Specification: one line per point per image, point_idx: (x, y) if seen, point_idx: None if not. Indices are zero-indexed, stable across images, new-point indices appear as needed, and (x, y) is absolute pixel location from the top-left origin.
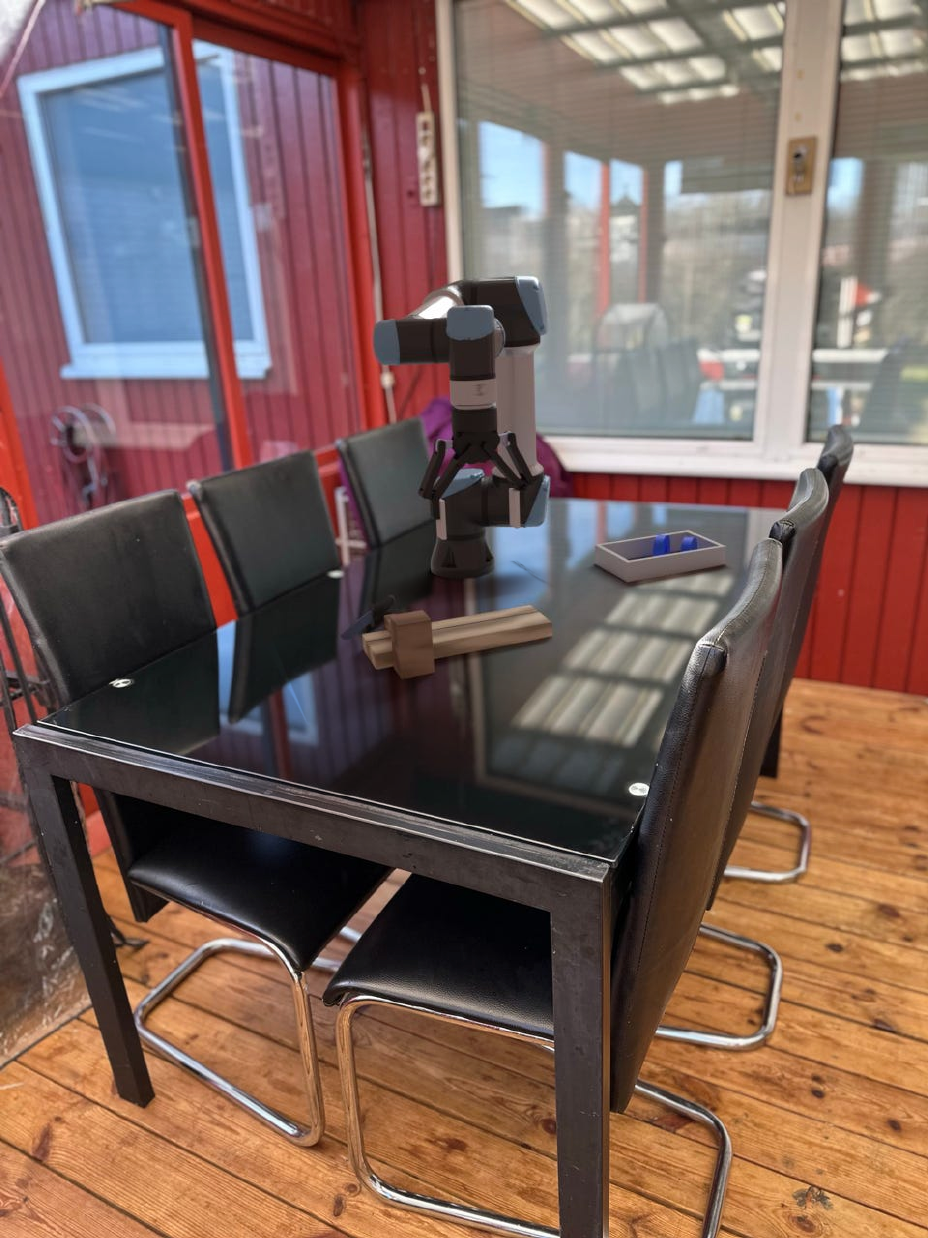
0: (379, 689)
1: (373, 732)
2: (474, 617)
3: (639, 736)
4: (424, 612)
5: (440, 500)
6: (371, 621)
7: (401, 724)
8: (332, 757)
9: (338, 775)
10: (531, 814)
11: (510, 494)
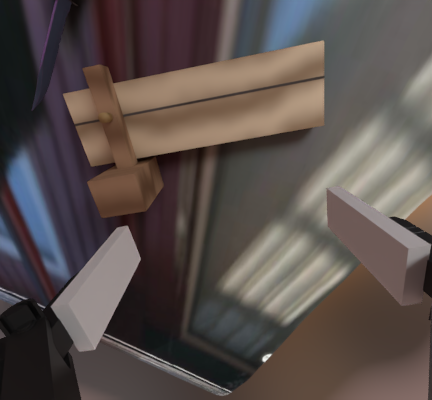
0: None
1: None
2: (226, 73)
3: (296, 317)
4: (137, 183)
5: (78, 337)
6: (69, 7)
7: None
8: None
9: None
10: (205, 364)
11: (389, 247)
